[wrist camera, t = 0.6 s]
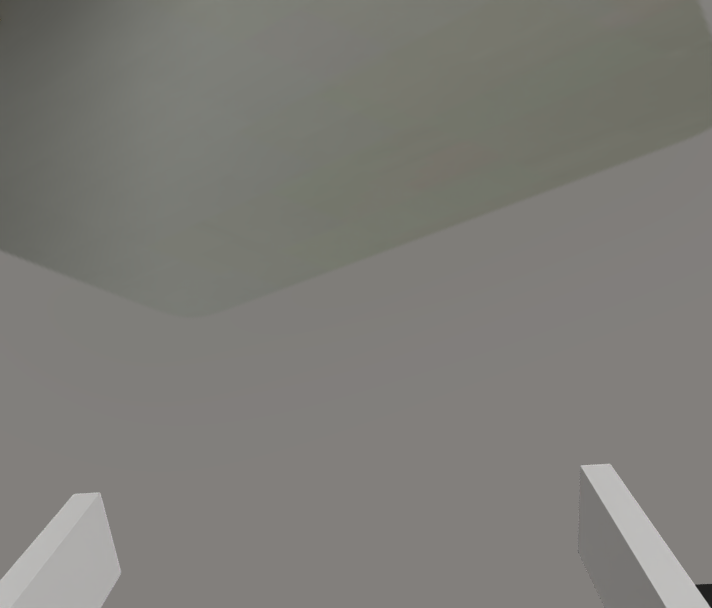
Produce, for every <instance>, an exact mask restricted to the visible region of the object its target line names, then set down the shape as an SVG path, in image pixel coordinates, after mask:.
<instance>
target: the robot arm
mask: <svg viewBox="0 0 712 608" xmlns="http://www.w3.org/2000/svg"><path fill="white" fill-rule="evenodd" d="M578 553H579V555H580V557H581V559H582V561H583V563H584V566H585V568H586V570H587V572H588V574H589V576H590V578H591V580H592V582H593V584H594V587H595V589H596V591H597V593H598V595H599V597H600V599H601V601H602V603H603V605H604V608H712V584H700V585H694V583H693V582H692V581H691V579H690V577H689V576H688V575H687V573H686V572H685V570H684V569H683V568H682V566H681V565H680V563H679V562H678V560H677V559H676V557H675V556H674V555H673V553H672V552H671V550H670V549H669V547H668V546H667V545H666V543H665V542H664V540H663V539H662V538H661V536H660V534H659V533H658V532H657V530H656V529H655V527H654V526H653V525H652V523H651V522H650V520H649V519H648V517H647V516H646V514H645V513H644V512H643V510H642V509H641V507H640V506H639V505H638V503H637V502H636V500H635V499H634V497H633V496H632V494H631V493H630V492H629V490H628V489H627V487H626V486H625V485H624V483H623V482H622V480H621V479H620V477H619V476H618V474H617V473H616V472H615V470H614V469H613V467H612V466H611V464H599V465H581V466H580V496H579V533H578ZM120 574H121V569H120V566H119V562H118V558H117V554H116V551H115V547H114V543H113V539H112V535H111V532H110V528H109V524H108V520H107V516H106V513H105V509H104V505H103V501H102V497H101V494H100V493H83V494H74V495H73V496H72V497H71V498H70V499H69V500H68V502H67V503H66V504H65V505H64V506H63V507H62V509H61V510H60V511H59V512H58V513H57V515H56V516H55V517H54V518H53V519H52V520H51V522H50V523H49V524H48V525H47V526H46V527H45V529H44V530H43V531H42V532H41V533H40V534H39V536H38V537H37V538H36V539H35V540H34V542H33V543H32V544H31V545H30V546H29V548H28V549H27V550H26V551H25V552H24V553H23V555H22V556H21V557H20V558H19V559H18V560H17V562H16V563H15V564H14V565H13V566H12V567H11V569H10V570H9V571H8V572H7V573H6V575H5V576H4V577H3V578H2V579H1V580H0V608H101V607H102V605H103V603H104V601H105V600H106V598H107V596H108V595H109V593H110V591H111V590H112V588H113V586H114V584H115V583H116V581H117V579H118V578H119V576H120Z"/></svg>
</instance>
